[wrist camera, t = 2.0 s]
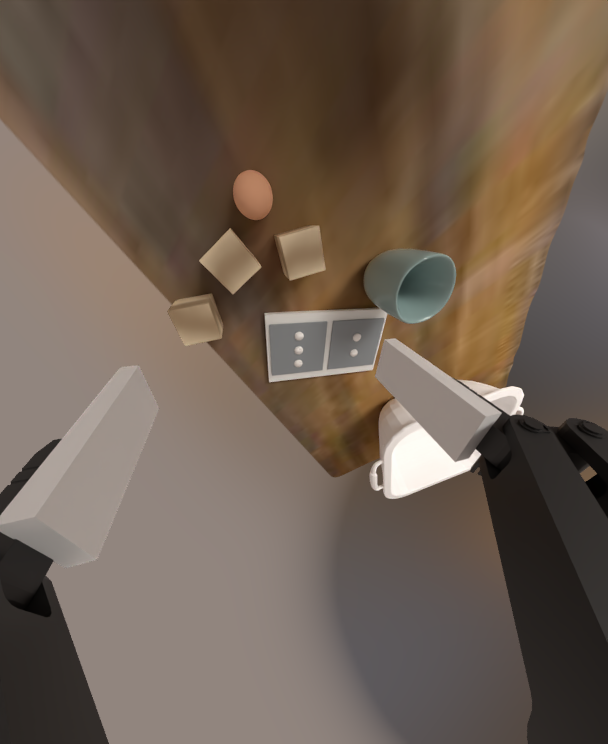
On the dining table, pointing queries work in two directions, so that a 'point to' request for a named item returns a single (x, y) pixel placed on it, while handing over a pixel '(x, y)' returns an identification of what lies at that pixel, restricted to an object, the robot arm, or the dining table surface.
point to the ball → (252, 194)
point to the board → (322, 342)
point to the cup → (410, 283)
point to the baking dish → (425, 445)
